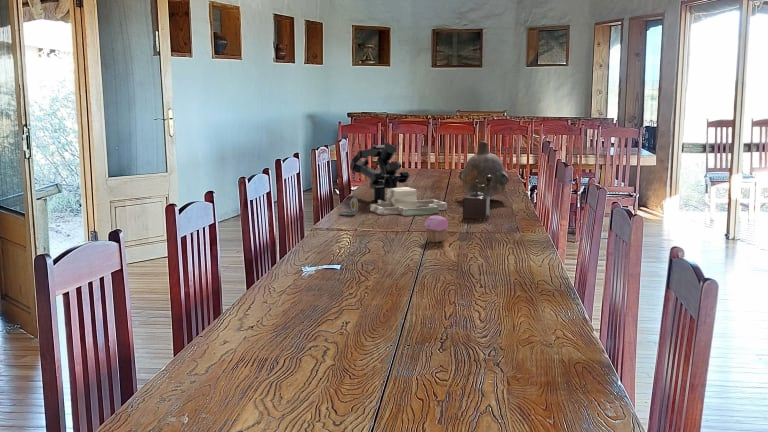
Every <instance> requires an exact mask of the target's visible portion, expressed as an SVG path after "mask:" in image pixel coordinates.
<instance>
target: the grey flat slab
mask: <svg viewBox="0 0 768 432" xmlns="http://www.w3.org/2000/svg"><path fill="white" fill-rule="evenodd" d="M389 206H390V203H388V202H387V201H382V200H378V201H377V203H370V205H369V208H370V209H369V211H371V212H373V213H377V214H378V215H382V216H384V215H385V216H386V215H397V214H399V215H401V216H405V217H408V216H420V215H422V216H423V215H432V214H439V212H440V211H445V210H446V211H447V209H448V203H447V202H444V201H440V200H437V199H422V200H421V199H420V200H417V205H416V208H410V209H406V208H403V207H400V206H399V207H389Z"/></svg>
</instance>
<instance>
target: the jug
mask: <svg viewBox="0 0 768 432" xmlns="http://www.w3.org/2000/svg"><path fill="white" fill-rule="evenodd" d="M463 168H464V169H463V170H461V171H460V172H459V176H458V177H459V180H460V181H461V182H462V189H463V191H464V192H465V193H467V194H468V195H470V194H471V193H474V192H475V191H476V185H475V183H476V182H475V181H476V180H478V185H485V184H486V180H485V177H486V176H487V175H490V176H493V178H494V179H493V181H492V183H491V184H492V186H489V187H488V186H486V187H478V192H481V193H483V194H484V195H487V196H490V198H491V197H494V196H497V195H500V194H503V193H504V192H505V190H506V186H507V185H508V184H509V182H510V177H509V175H508V174H507V173H506V171H505V167H504V165H503V162H502V160H501V158H499V157H498V156H497V155H496V154H494V153H491V151H490V149H489V142H487V141H484V140H481V141H480V142H479V143H478V145H477V151H476V153H475V154H473V155H471V156H470V157H469V159H468V160H467V161H466V163H465V166H464V167H463ZM484 192H485V193H484Z"/></svg>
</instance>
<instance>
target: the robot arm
mask: <svg viewBox="0 0 768 432" xmlns="http://www.w3.org/2000/svg"><path fill="white" fill-rule="evenodd" d="M396 152H397V148H396V147H395V145H392V144H391V143H390V142H386V143H385V144H384V145H383V144H382V145H381V144H380V145H373V146H371V147H370V148H368V149H362V150H358V151H357V153H356V155H354V156H353V158H352V159H351V162H350V164H349V165H350V170H351V172H352V173H355V174H362V175H364V176H365V177H367V178H368V179H370V182H369V188H370V189H373V198H372V199H371V201H373V202H378V200H382V201H385V202H387V197H386V189H387V188H398V183H399V184H405V183H406V182H407V181H408V179H409V177H410V174H409V172H408V171H401V172H399V174H398V173H397V171H398V170H400V169H401V168H402V163H401V161H399V160H398V161H396V162H391V160H392V159H393V157H394V156H395V153H396ZM370 157H371V158H377V159H376V163H375V165H376V166H378V168H379V170H375V169H373V168H372V167H370V166H369V164H370V162H369V159H368V158H370ZM360 159H365V160H360Z"/></svg>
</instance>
